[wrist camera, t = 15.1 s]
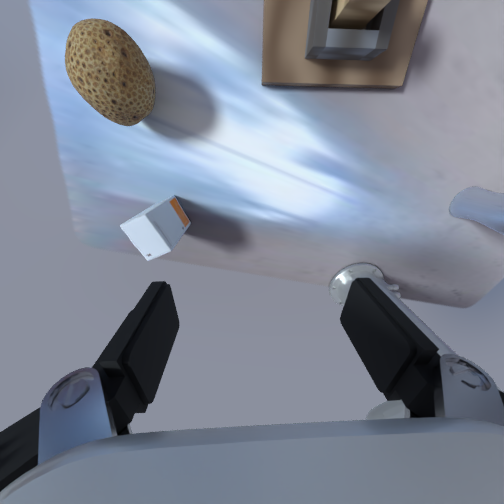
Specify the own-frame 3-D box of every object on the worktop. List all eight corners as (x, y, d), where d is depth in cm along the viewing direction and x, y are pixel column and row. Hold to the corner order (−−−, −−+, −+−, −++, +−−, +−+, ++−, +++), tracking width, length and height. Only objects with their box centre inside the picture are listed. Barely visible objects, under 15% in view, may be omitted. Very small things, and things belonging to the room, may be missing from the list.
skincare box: (192, 222, 37) (172, 252, 27) (173, 230, 38) (147, 262, 27) (174, 193, 34) (145, 213, 24) (154, 202, 35) (117, 226, 25)
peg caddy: (440, -70, 22) (490, -125, 17) (394, 88, 28) (422, 77, 24) (266, -81, 21) (272, -142, 16) (261, 85, 28) (265, 73, 23)
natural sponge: (164, 138, 30) (132, 134, 21) (102, 114, 28) (40, 99, 20) (173, 65, 26) (138, 24, 17) (102, 33, 24) (24, -31, 16)
